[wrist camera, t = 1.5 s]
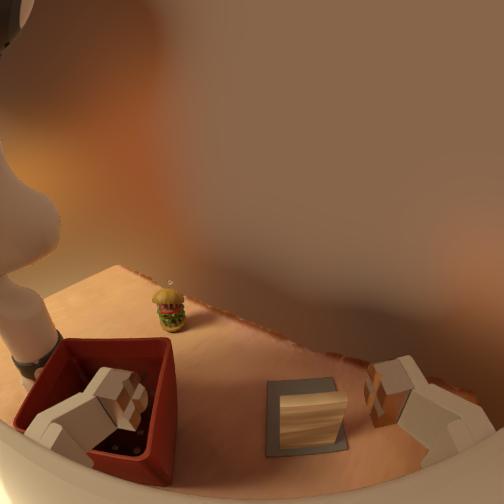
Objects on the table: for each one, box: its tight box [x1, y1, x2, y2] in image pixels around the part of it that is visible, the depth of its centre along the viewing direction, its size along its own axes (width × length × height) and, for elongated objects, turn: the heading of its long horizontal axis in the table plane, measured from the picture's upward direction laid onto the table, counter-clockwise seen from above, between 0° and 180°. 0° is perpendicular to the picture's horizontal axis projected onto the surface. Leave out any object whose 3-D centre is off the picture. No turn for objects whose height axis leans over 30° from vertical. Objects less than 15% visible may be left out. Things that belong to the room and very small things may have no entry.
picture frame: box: [280, 390, 348, 449], centre depth 30 cm, size 2×8×12 cm, turn 87°
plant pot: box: [13, 337, 177, 486], centre depth 28 cm, size 19×19×17 cm
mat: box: [266, 377, 347, 457], centre depth 38 cm, size 16×12×1 cm
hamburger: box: [152, 280, 186, 332], centre depth 62 cm, size 8×7×12 cm
